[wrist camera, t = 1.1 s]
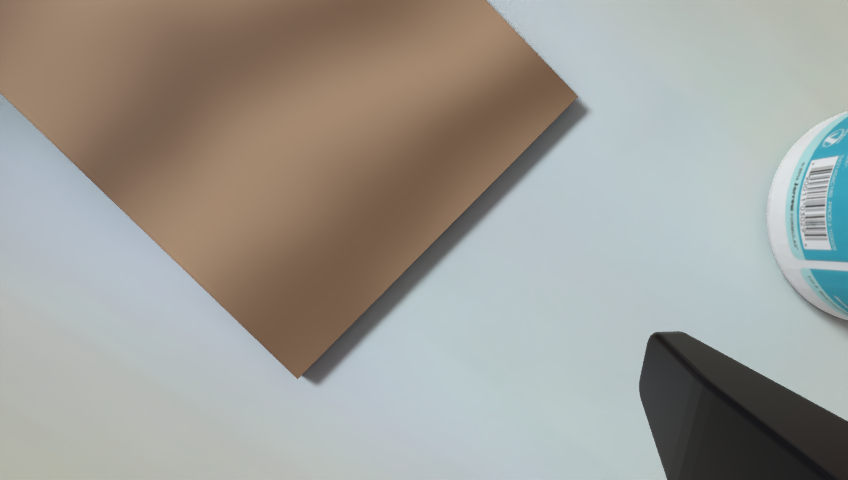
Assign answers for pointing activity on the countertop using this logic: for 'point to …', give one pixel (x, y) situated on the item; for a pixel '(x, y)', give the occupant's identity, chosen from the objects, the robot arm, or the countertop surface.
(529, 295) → the countertop surface
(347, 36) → the walnut board
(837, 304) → the pill bottle
